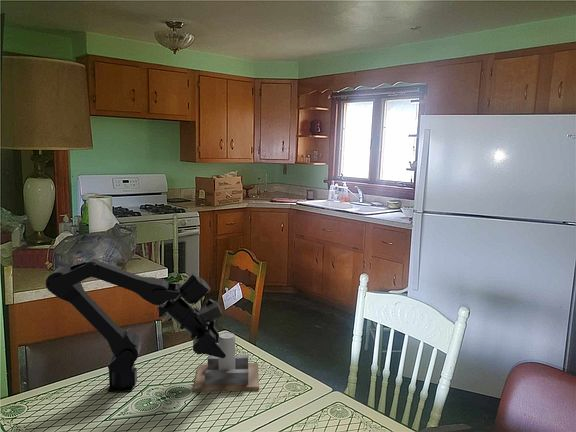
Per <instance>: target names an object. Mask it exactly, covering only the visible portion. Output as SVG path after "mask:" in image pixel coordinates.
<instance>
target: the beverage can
mask: <svg viewBox="0 0 576 432" xmlns="http://www.w3.org/2000/svg"><path fill="white" fill-rule="evenodd" d="M217 344H218V346H219V347H220V348H221V349H222V351H223V352H224V353H225V355H226V357H225V358H219V370H231V369H235V355H236V336H235V333H233V332H230V331H229V332H228V331H227V332H221V333H219V338H218V343H217Z"/></svg>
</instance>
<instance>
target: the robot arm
mask: <svg viewBox="0 0 576 432" xmlns="http://www.w3.org/2000/svg"><path fill="white" fill-rule="evenodd" d="M89 278H95V279H96V280H101V281H103V282H106V283H108V284H110V285H114V286H117V287H120V288H123V289H125V290H128V291H131V292H133V293H135V294H136V295H138V296H139V297H140V298H142V299H143V300H144V301H146V302H148V303H149V304H152V305H153V306H157V309H158V318H162V317H163V316H164V315H165V314H167V315H168V316H169V317H170V318H172V319H173V320H174V322H176V323H177V324H178V325H179V329H180V330H185V331H186V332H187V333H188V334H189V338H191V339H192V340H193V341H192V342H193V343H192V351H193V352H194V353H195V354H196V355H198V356H199V355H206V356H215V357H219V358H225V357H226V355H225V353H224V352H223V351H222V349H221V348H220V347H219V346H218V338H219V335H220V333H219V332H218V330H217V329H216V327H215V326H214V325H215V320H216V319H221V317H222V316H223V310H222V309H221V305H220V304H219V302H218V301H217V300H213V299H211V298H209V299H206V300H205V306H203V307H202V308H201V309H200V308H198V307H196V306H194V307H193V306H191V305H194V304H195V305H197V303H199V301H200V300H202V299H203V298H204V297H205V296H206V295H207V294H208V293H209V292H210V291H211V287H210V286H209V284H208V283H207V282H206V281H205V280H204V279H203V278H201V277H200V276H198V275H196V274H195V273H193V272H192V273H191V274H190V275H189V276H188V278H187V279H186V280H184V282H182V283H177V282H176V283H175V282H168V281H167V280H166V279H163V278H159V277H158V278H157V277H152V276H141V275H138V274H135V273H132V272H130V271H127V270H124V269H122V268H118V267H116V266H114V265H112V264H108V263H106V262H102V261H100V260H99V259H98V258H97V259H96V258H91V259H88V260H87V261H83V262H80V263H76V264H73V265H71V266H59V267H57V268H56V269H55V270H54V271H52V272H51V273H50V274H49V275H48V276H47V277H46V280H45V288H46V289H47V290H48V292H50V293H51V294H52V295H54V296H55V297H56V298H58V299H60V300H62V301H64V302H66V303H69V304H71V305H72V306H73V307H74V308H75V309H76V311H78V313H79V314H80V315H81V316H82V317H83V318H85V320H86V321H87V322H88V323H89V324H90V325H91V326H92V327H93V328H94V329H95V330H96V331H97V332H98V333H99V334H100V335H101V336H102V337H103V339H105V340H106V342H107V344H108V346H109V348H110V351H111V353H112V355H111V357H110V360H109V363H108V365H107V369H108V381H109V382H108V383H109V386H108V388H107V389H106V391H107V393H110V392H111V393H112V392H113V393H117V392H120V393H121V392H131V391H133V389H134V387H135V386H136V384H137V383H138V368H137V367H135V363H136V361H137V359H138V357H139V355H140V351H141V347H142V346H141V345H142V342H141V340H140V335H138V334H136V333H135V331H134V330H133V329H132V328H131V327H130V326H129V327H128V328H127V329H124V328H121V327H120V326H119V325H118V324H117V323H116V322H115V321H114V319H112V318H111V317H110V316H109V315H108V313H106V311H104V309H102V307H101V306H100V305H99V304H98V303H97V302H96V301H95V300H94V299H93V298H92V297H91V296H90V295H89V294H88V293H87V292H86V290H85V289H84V287H83V284H82V281H85V280H87V279H89Z"/></svg>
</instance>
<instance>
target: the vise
mask: <svg viewBox="0 0 576 432" xmlns="http://www.w3.org/2000/svg"><path fill="white" fill-rule="evenodd" d="M197 366H198V367H197V369H196V370H197V371H196V375H195V379H194V386H193V393H195V392H197V393H198V392H199V393H200V392H229V391H231V392H233V391H234V392H235V391H238V392H239V391H260V379H259V378H260V377H259V376H260V375H259V374H260V373H259V363H255V362H254V363H249V354H237V355H236V354H235V369H231V370H219V357H215V356H211V355H207V363H206V364H204V363H203V364H198V365H197Z"/></svg>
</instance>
